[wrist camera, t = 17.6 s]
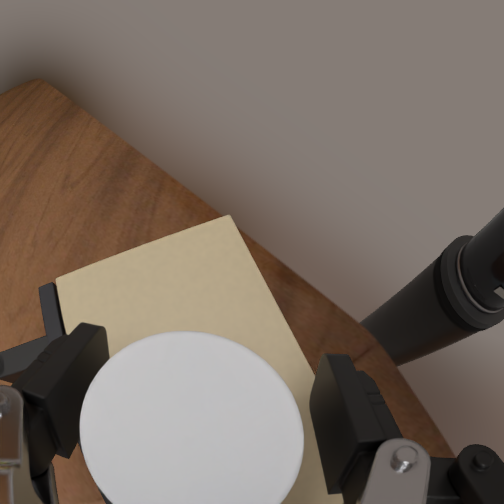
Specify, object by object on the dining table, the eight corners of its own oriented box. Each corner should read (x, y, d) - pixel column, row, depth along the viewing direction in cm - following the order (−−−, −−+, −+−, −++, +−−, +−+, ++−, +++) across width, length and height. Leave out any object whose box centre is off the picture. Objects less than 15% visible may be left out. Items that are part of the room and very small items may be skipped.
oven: (207, 525, 18) (198, 602, 7) (121, 339, 25) (55, 278, 14) (316, 478, 21) (391, 517, 10) (225, 300, 28) (229, 214, 17)
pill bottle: (273, 380, 13) (343, 331, 6) (256, 482, 11) (305, 565, 3) (166, 358, 13) (98, 282, 6) (144, 459, 11) (48, 505, 3)
